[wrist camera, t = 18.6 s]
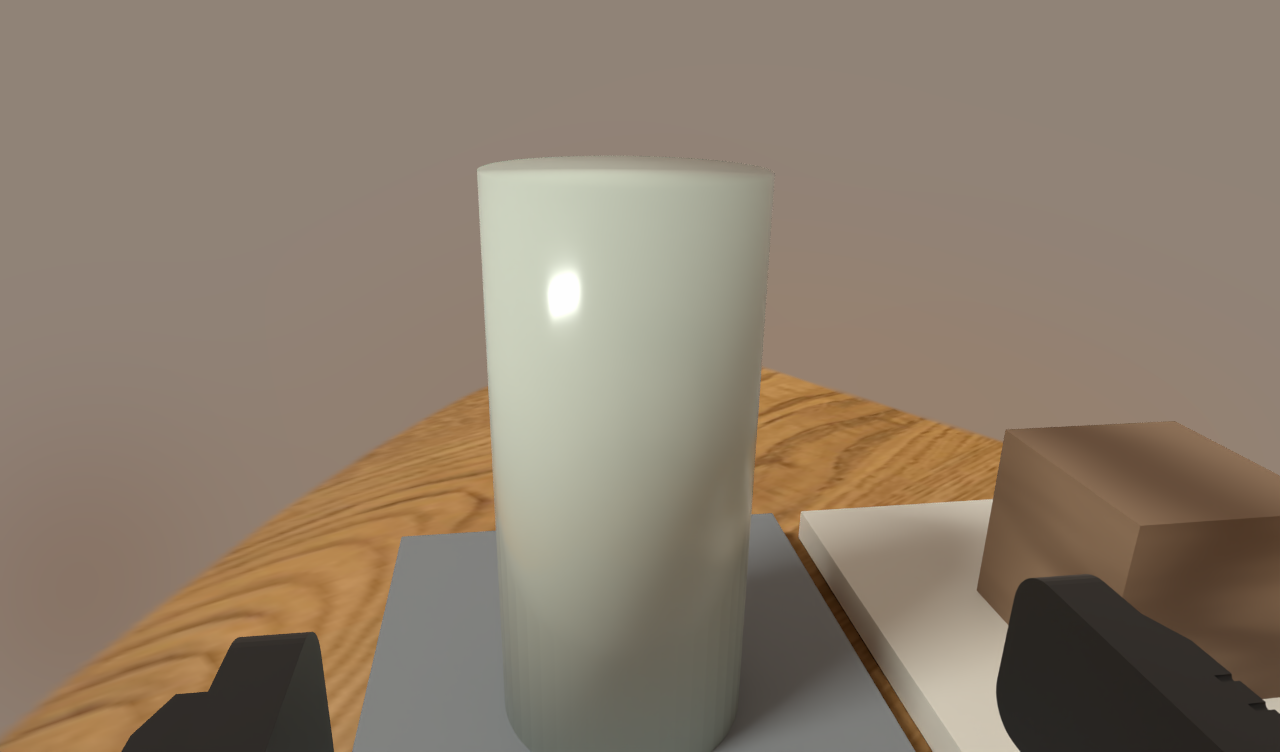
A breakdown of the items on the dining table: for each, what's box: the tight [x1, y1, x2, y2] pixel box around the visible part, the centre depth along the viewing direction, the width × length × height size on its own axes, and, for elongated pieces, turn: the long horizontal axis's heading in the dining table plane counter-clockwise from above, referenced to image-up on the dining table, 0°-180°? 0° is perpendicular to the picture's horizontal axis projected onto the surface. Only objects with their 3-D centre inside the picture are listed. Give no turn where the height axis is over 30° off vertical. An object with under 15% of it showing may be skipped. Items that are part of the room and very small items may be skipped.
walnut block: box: [977, 421, 1280, 699], centre depth 21 cm, size 5×5×5 cm
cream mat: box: [799, 499, 1280, 752], centre depth 22 cm, size 12×15×1 cm
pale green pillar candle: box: [477, 156, 775, 752], centre depth 17 cm, size 6×6×12 cm
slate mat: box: [352, 513, 915, 752], centre depth 20 cm, size 12×15×1 cm
